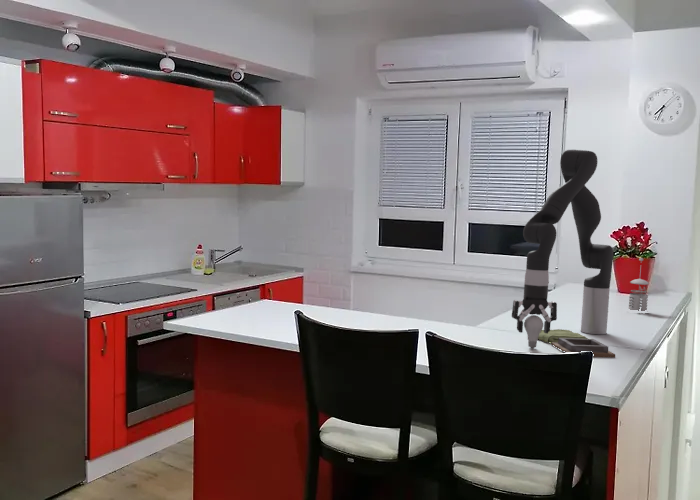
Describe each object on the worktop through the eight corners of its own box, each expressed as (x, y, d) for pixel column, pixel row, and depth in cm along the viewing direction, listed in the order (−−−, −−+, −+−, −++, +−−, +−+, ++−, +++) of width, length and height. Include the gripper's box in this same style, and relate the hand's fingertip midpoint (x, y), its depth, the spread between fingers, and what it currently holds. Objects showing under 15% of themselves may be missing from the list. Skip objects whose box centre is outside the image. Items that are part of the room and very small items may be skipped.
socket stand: (551, 345, 234) (551, 336, 234) (594, 346, 235) (595, 337, 234) (568, 356, 218) (569, 346, 218) (615, 357, 219) (615, 348, 218)
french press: (645, 311, 322) (649, 257, 320) (653, 315, 310) (657, 259, 308) (623, 309, 323) (627, 256, 321) (630, 314, 311) (634, 258, 309)
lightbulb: (521, 349, 226) (523, 315, 225) (523, 345, 231) (525, 313, 230) (540, 351, 223) (542, 317, 222) (542, 347, 229) (544, 315, 228)
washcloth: (591, 343, 242) (591, 334, 242) (548, 345, 236) (549, 336, 236) (567, 336, 254) (567, 327, 254) (526, 337, 248) (526, 328, 248)
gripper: (553, 282, 230) (550, 331, 231) (511, 281, 229) (508, 329, 230) (561, 285, 222) (558, 335, 223) (518, 283, 221) (515, 334, 222)
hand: (533, 332), depth 227 cm, fingers open, 8 cm apart
